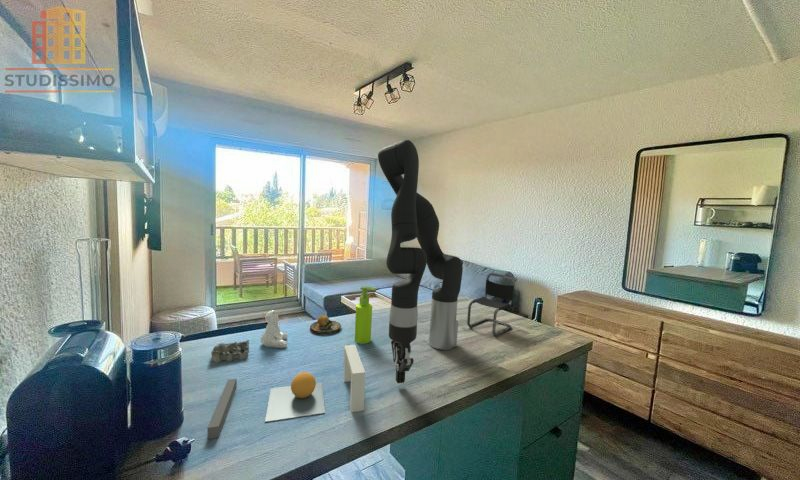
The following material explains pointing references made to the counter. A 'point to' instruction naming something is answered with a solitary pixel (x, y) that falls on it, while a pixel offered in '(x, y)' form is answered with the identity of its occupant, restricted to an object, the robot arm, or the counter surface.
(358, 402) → the bridge
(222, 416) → the wall
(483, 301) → the chair
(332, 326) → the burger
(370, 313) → the soap dispenser
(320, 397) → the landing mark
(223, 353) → the egg carton
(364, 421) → the counter surface
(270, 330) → the seated beast figurine
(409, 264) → the robot arm
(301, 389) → the ball
